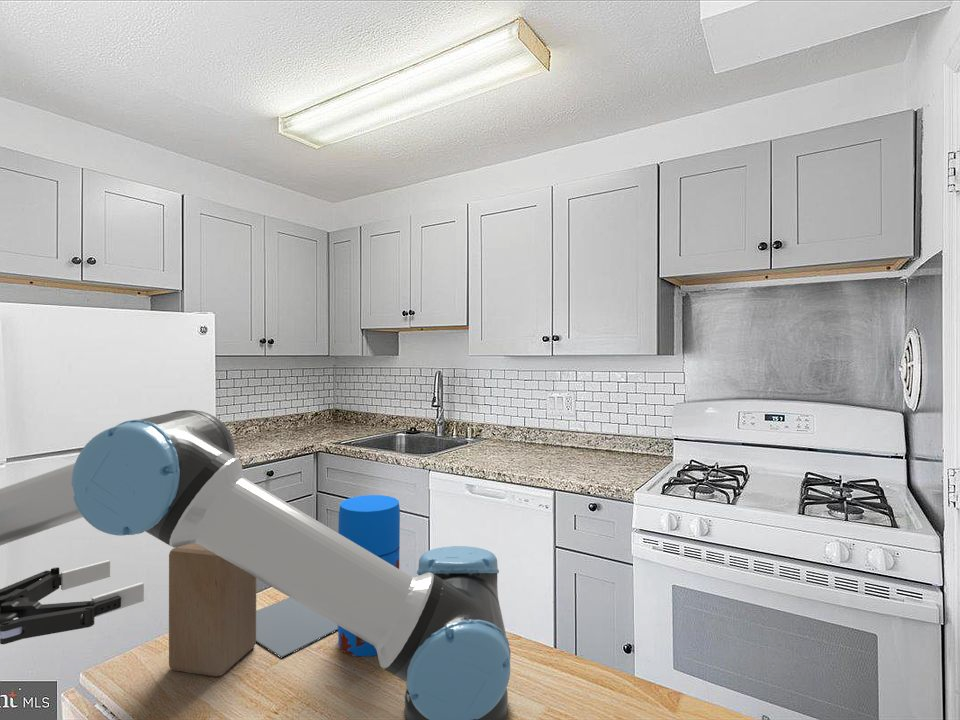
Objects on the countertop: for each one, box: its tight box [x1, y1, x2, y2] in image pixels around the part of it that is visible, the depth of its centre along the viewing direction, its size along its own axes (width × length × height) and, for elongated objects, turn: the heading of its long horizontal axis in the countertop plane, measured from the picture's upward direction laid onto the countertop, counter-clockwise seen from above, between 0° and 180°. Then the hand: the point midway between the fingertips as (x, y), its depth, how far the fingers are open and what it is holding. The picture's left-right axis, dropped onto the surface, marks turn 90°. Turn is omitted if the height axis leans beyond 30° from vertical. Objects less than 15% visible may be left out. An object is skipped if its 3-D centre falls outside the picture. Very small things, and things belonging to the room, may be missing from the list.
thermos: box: [337, 494, 401, 658], centre depth 97 cm, size 11×11×25 cm
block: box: [168, 543, 257, 677], centre depth 90 cm, size 10×10×20 cm
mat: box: [256, 596, 338, 658], centre depth 105 cm, size 18×21×1 cm
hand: (125, 579), depth 86 cm, fingers open, 13 cm apart
